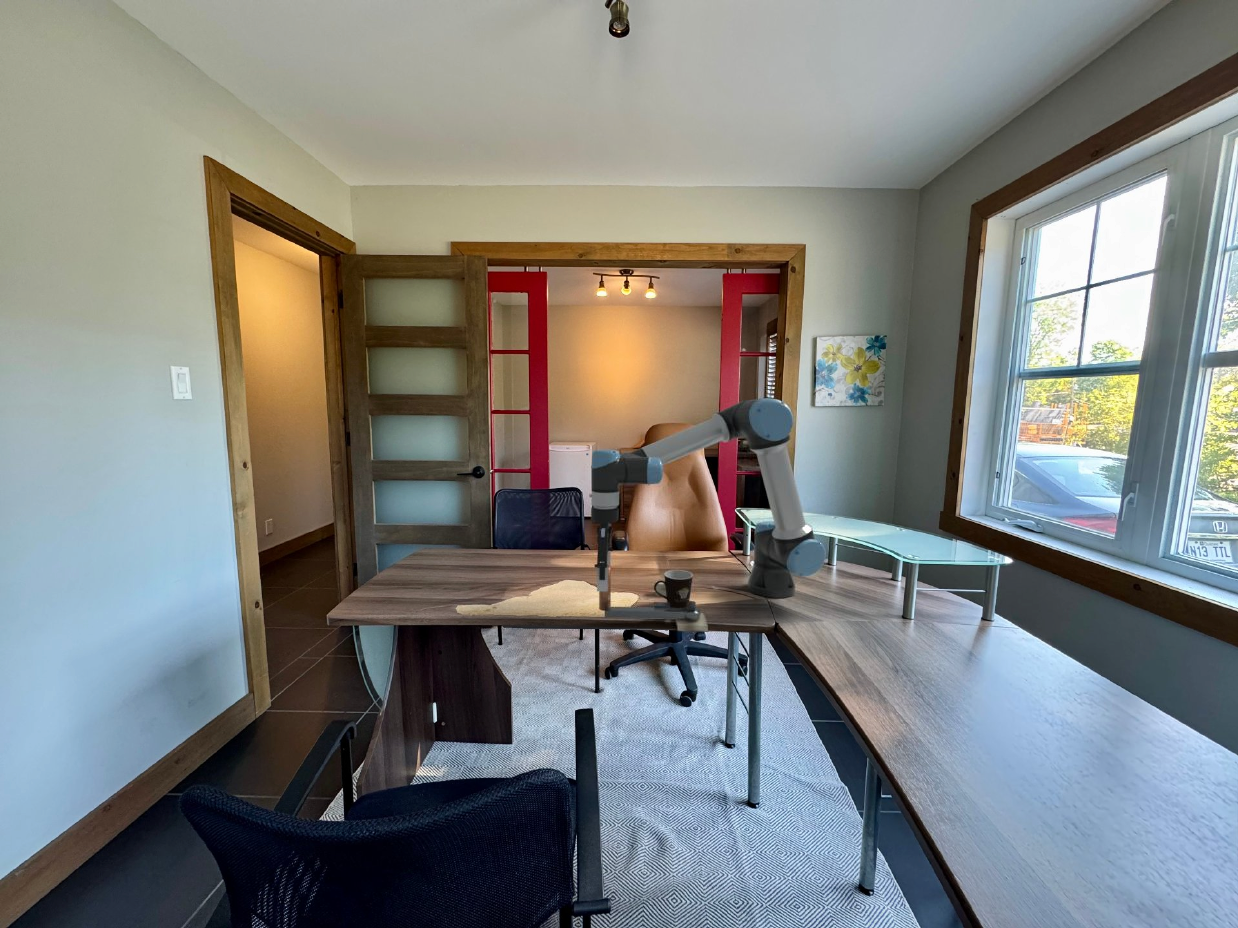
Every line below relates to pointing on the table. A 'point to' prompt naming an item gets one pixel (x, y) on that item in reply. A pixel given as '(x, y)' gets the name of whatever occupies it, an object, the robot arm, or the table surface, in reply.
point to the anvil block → (660, 589)
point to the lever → (643, 608)
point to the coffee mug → (677, 587)
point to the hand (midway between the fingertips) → (604, 582)
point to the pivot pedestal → (692, 625)
